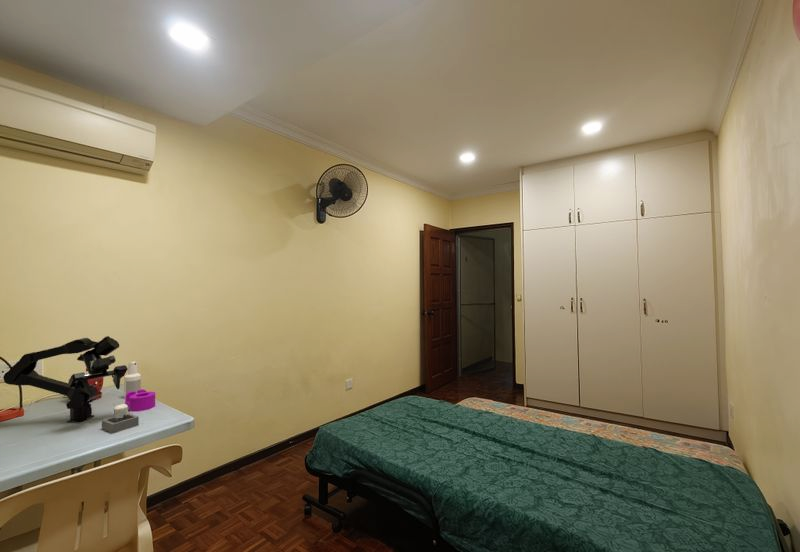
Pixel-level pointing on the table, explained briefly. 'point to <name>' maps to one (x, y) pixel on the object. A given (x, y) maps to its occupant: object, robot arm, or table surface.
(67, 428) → the table surface
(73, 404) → the robot arm
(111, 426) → the collar
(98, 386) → the plant pot
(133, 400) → the tape dispenser
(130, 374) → the spray bottle
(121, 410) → the milkshake
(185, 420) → the table surface
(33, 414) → the table surface
